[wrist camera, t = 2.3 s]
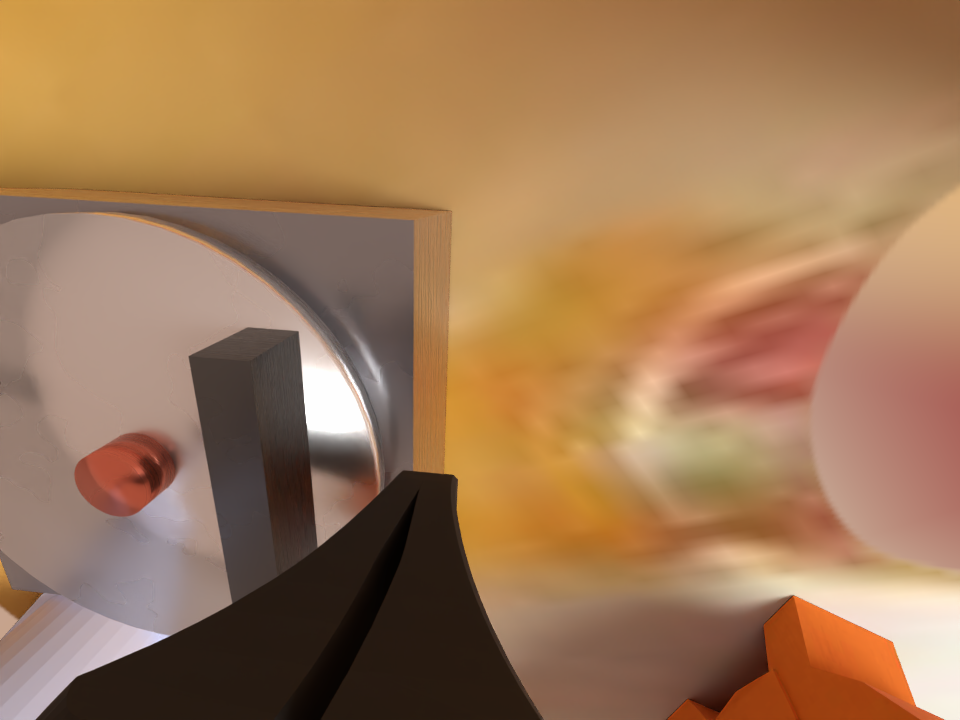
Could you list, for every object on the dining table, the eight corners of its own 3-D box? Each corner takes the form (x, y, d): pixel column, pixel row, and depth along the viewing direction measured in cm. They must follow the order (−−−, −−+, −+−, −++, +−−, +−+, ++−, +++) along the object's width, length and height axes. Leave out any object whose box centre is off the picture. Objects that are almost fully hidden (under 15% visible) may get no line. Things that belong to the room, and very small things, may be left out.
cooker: (-109, 459, 22) (-442, 600, 15) (-240, 170, 18) (-822, 152, 10) (442, 515, 21) (395, 707, 13) (451, 211, 16) (387, 226, 8)
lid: (20, 594, 15) (-83, 676, 13) (-133, 196, 11) (-337, 197, 8) (388, 637, 15) (359, 735, 12) (380, 228, 10) (331, 239, 8)
